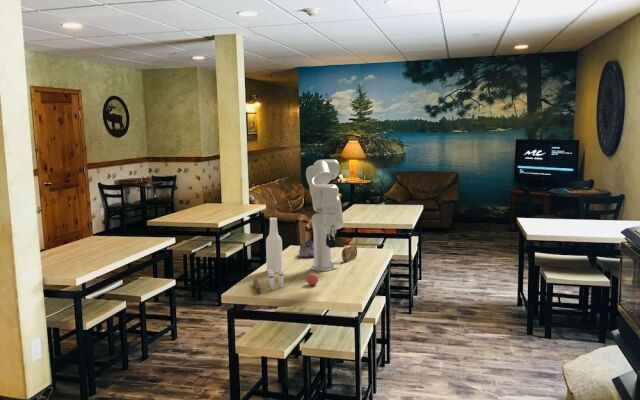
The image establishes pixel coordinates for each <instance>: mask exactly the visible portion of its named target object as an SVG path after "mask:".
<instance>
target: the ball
mask: <svg viewBox="0 0 640 400" xmlns="http://www.w3.org/2000/svg"><path fill="white" fill-rule="evenodd" d="M306 282H307V284H308V285H311V286H316V285H317V283H318V282H319V276H318V274H317V273H315V272H312V273H311V272H310V273H309V274H308V275H307V276H306Z"/></svg>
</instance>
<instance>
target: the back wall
mask: <svg viewBox="0 0 640 400" xmlns="http://www.w3.org/2000/svg"><path fill="white" fill-rule="evenodd" d="M252 281H253V283H252V284H253V288H254V290H255V293H256V295H258V294H259V295H261V294H262V290H261V289H262V288H261V284H260V282H259V279H258V278H253V279H252Z"/></svg>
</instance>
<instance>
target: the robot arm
mask: <svg viewBox="0 0 640 400" xmlns="http://www.w3.org/2000/svg"><path fill="white" fill-rule="evenodd" d="M339 163H340V162H338V160H336V159H318V160H316V161H315V162H314V163H313V165H309V166H308V167H307V168H306V171H305V177H306V182H307V184H308V186H309V192H310V196H311V202H312V209H313V210H314V212H316V213H315V214H313V215H312V217H311V225H312V232H313V233H312V234H313V235H312V236H313V241H314V257H313V265H312V266H311V265H310V266H311V270H313V271H317V272H326V271H327V272H328V271H331V270H334V269H335V268H334V266H335V265H340V261H339V260H338V261H337V260H332V256H331V253H332V251H331V249H334V248H336V246H335V245H336V242H335V241H336V240H335V238H336V237H335V236H336V234H337V230H340V229H342V228H343V226H344V216H343V210H342V209H343V208H342V201H341V198H340V197H339V193H340V191H339V187H338V185H336V184H334V183H330V182H331V180H335V179H337V177H338V175H339V174H340V169H341V167H340V164H339Z"/></svg>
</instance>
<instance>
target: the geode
mask: <svg viewBox="0 0 640 400" xmlns="http://www.w3.org/2000/svg"><path fill="white" fill-rule="evenodd" d="M298 256H299V257H300V258H311V257H312V258H314V240H308V241H305V243H303V244H300V246H299V250H298Z"/></svg>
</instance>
